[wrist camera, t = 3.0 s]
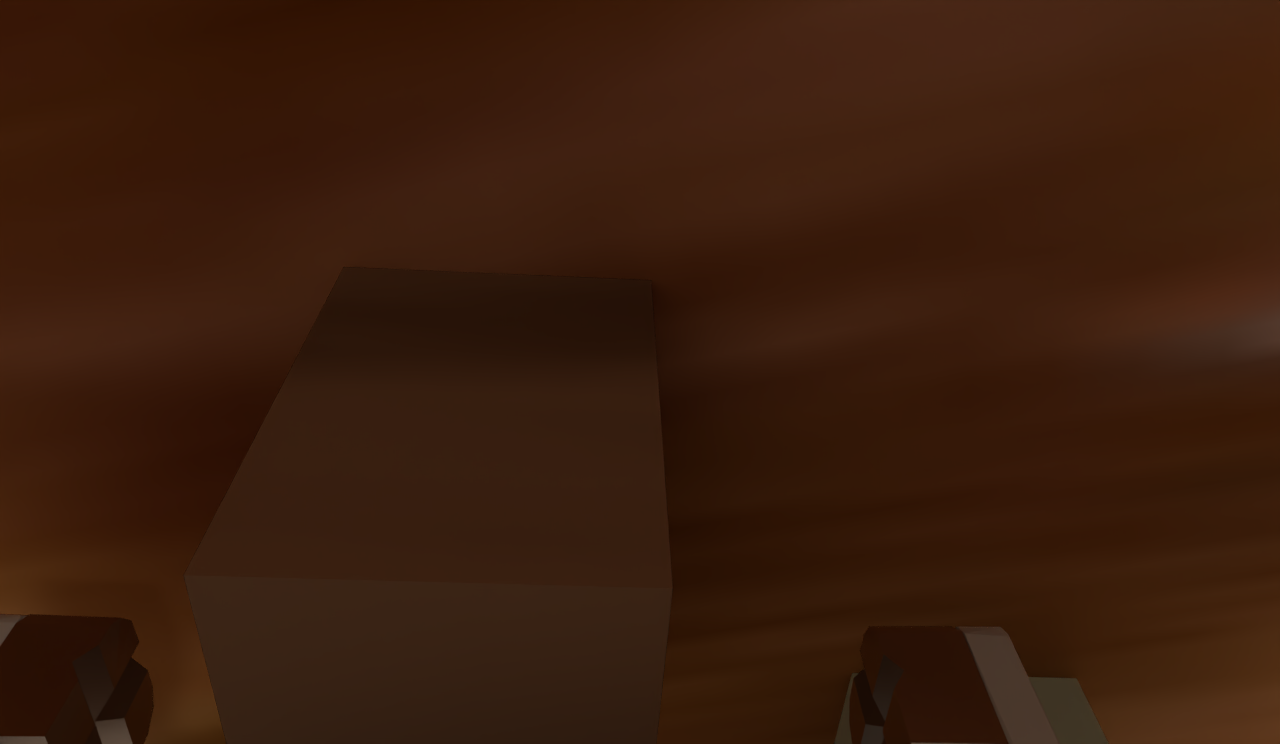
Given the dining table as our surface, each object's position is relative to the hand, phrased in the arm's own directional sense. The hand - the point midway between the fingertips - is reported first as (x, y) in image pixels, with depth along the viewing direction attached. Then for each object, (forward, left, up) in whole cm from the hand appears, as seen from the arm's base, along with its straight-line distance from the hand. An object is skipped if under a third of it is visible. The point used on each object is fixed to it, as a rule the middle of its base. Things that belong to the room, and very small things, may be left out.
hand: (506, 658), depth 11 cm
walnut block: (-1, 0, -3) cm, 3 cm away
